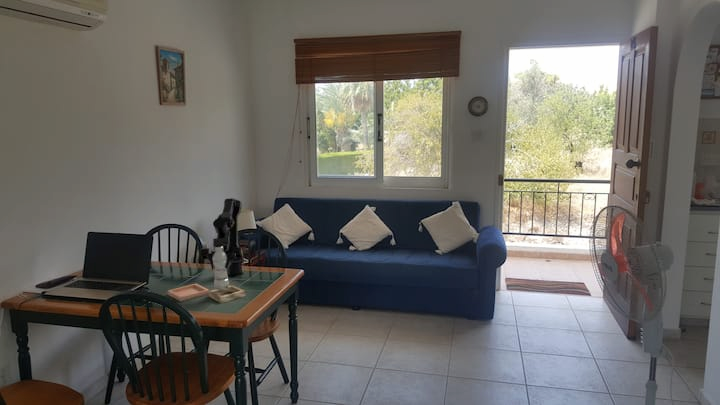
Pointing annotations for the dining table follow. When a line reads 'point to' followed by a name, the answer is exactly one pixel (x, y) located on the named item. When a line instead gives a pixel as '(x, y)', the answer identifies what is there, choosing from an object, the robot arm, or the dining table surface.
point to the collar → (218, 297)
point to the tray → (188, 292)
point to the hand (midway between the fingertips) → (219, 269)
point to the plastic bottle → (220, 268)
